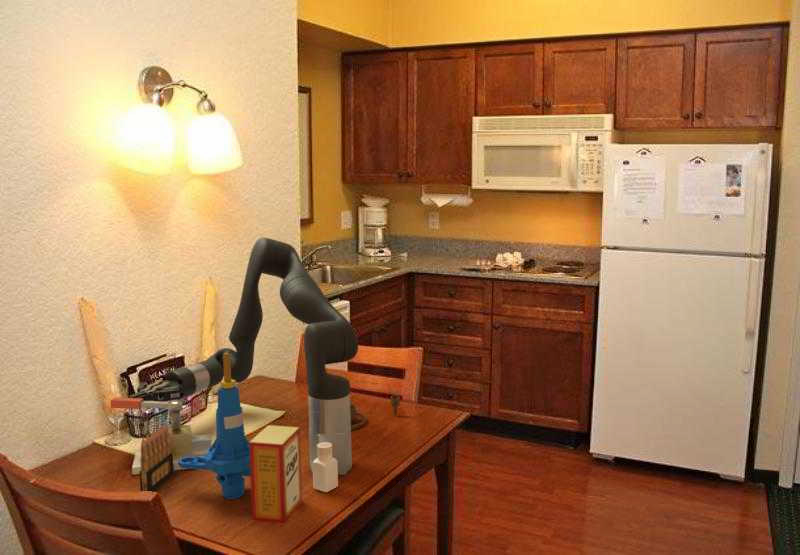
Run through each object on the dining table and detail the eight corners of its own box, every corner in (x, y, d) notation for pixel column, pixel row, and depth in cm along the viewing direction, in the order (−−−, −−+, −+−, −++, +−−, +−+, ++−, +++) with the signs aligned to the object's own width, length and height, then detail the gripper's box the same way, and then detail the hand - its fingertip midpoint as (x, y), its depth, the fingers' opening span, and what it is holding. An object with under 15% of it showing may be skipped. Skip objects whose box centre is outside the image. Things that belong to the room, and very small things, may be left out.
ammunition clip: (166, 473, 163) (163, 421, 161) (174, 473, 162) (171, 421, 160) (140, 494, 152) (136, 439, 150) (148, 495, 152) (144, 440, 150)
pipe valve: (211, 447, 173) (209, 403, 171) (211, 456, 167) (209, 411, 166) (144, 454, 169) (141, 408, 167) (142, 463, 164) (139, 417, 162)
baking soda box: (271, 497, 150) (268, 423, 148) (301, 500, 149) (299, 425, 146) (252, 520, 141) (249, 440, 139) (284, 523, 140) (281, 443, 137)
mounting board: (220, 450, 175) (220, 443, 175) (221, 465, 167) (221, 458, 166) (136, 458, 171) (136, 452, 170) (132, 474, 162) (132, 467, 162)
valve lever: (116, 404, 170) (116, 396, 170) (185, 407, 168) (184, 399, 168) (109, 408, 167) (108, 401, 167) (178, 411, 165) (178, 404, 164)
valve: (194, 478, 160) (186, 343, 155) (267, 485, 156) (261, 347, 151) (167, 500, 150) (158, 357, 145) (245, 509, 146) (238, 362, 141)
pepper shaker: (312, 488, 154) (310, 445, 153) (325, 482, 157) (324, 439, 156) (326, 494, 152) (325, 450, 150) (339, 487, 155) (338, 444, 154)
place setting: (329, 412, 202) (329, 391, 201) (401, 415, 199) (401, 394, 198) (312, 435, 185) (311, 413, 184) (390, 440, 182) (390, 417, 181)
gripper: (166, 363, 187) (109, 381, 172) (205, 370, 180) (149, 390, 165) (168, 391, 188) (112, 412, 173) (206, 399, 181) (151, 421, 167)
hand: (130, 401), depth 169 cm, fingers closed
